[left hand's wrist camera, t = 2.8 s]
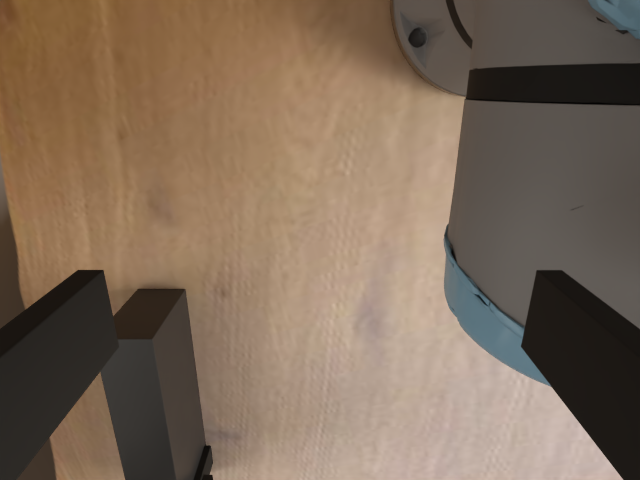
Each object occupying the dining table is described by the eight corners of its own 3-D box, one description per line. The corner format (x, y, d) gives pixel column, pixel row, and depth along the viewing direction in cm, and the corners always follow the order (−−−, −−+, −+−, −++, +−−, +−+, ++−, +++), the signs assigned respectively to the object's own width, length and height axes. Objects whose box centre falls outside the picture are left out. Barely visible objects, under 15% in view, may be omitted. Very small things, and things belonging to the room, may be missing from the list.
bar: (137, 289, 42) (92, 339, 33) (185, 288, 42) (152, 339, 33) (170, 472, 51) (140, 547, 42) (209, 472, 51) (187, 547, 42)
